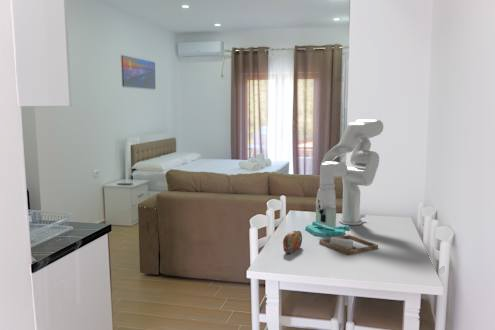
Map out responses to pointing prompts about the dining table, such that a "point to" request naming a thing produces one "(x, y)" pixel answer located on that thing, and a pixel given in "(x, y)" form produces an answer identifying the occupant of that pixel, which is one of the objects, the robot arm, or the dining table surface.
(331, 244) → the pine offcut
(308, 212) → the dining table surface
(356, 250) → the rack
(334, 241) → the grey offcut
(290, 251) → the tin
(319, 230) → the alien figure
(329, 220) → the sage panel
